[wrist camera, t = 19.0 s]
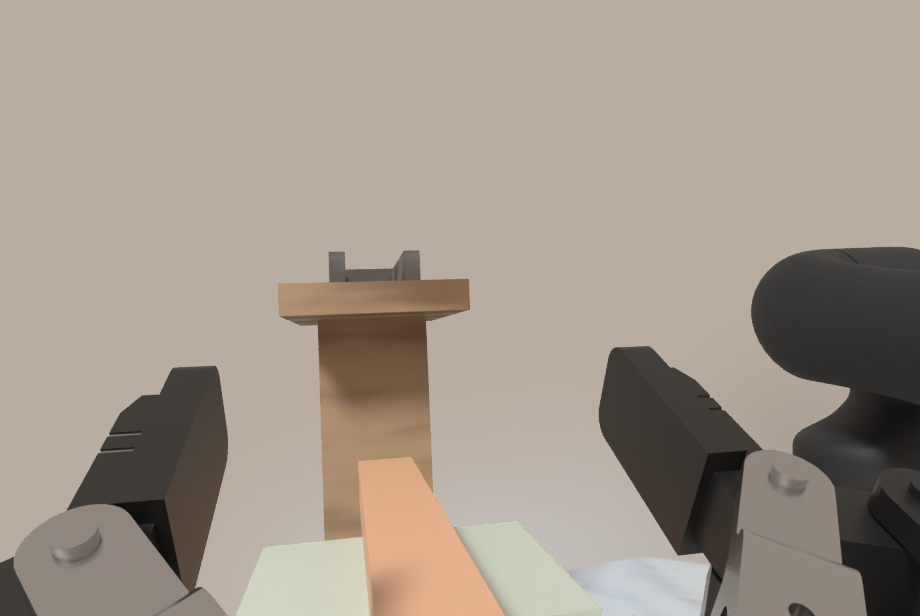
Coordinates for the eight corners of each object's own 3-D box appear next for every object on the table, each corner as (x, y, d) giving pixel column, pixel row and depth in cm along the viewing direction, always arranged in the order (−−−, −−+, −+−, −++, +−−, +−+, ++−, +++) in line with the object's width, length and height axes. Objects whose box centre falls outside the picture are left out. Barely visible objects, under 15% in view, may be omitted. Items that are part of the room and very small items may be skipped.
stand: (289, 656, 54) (279, 279, 56) (462, 632, 57) (446, 275, 59) (257, 832, 35) (242, 243, 36) (522, 782, 38) (496, 240, 40)
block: (359, 506, 33) (358, 461, 34) (412, 501, 34) (411, 456, 34) (386, 800, 12) (381, 670, 12) (531, 772, 12) (525, 649, 13)
